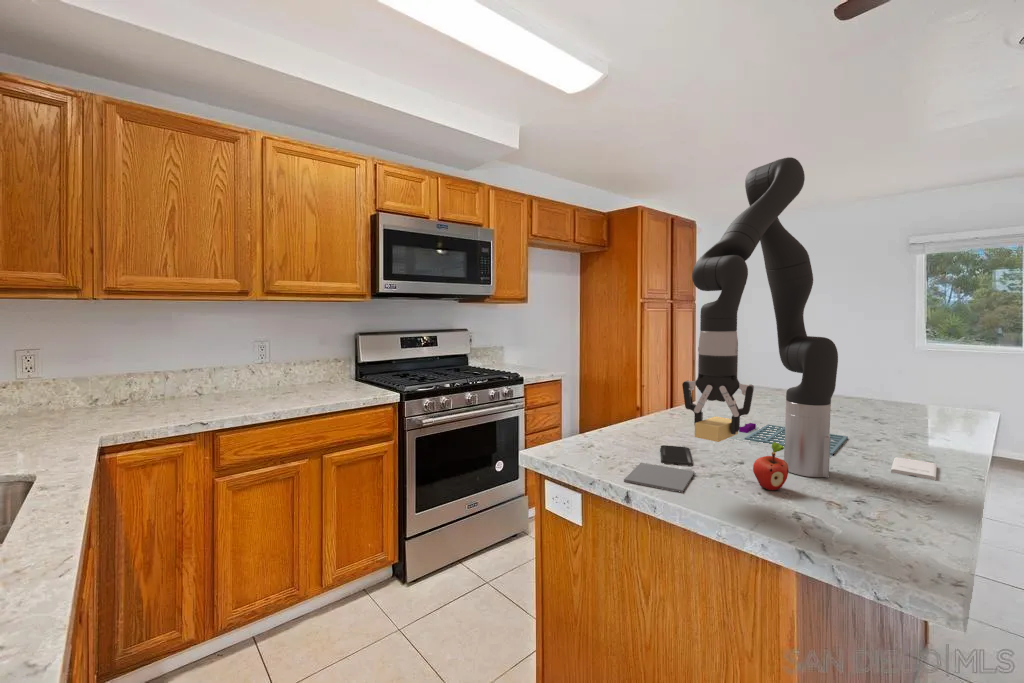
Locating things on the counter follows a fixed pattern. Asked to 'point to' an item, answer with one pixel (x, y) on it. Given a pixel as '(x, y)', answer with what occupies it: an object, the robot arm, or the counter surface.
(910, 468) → the external hard drive
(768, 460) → the apple
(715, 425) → the card box
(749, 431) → the calendar
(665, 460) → the phone
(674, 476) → the mat
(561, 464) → the counter surface
